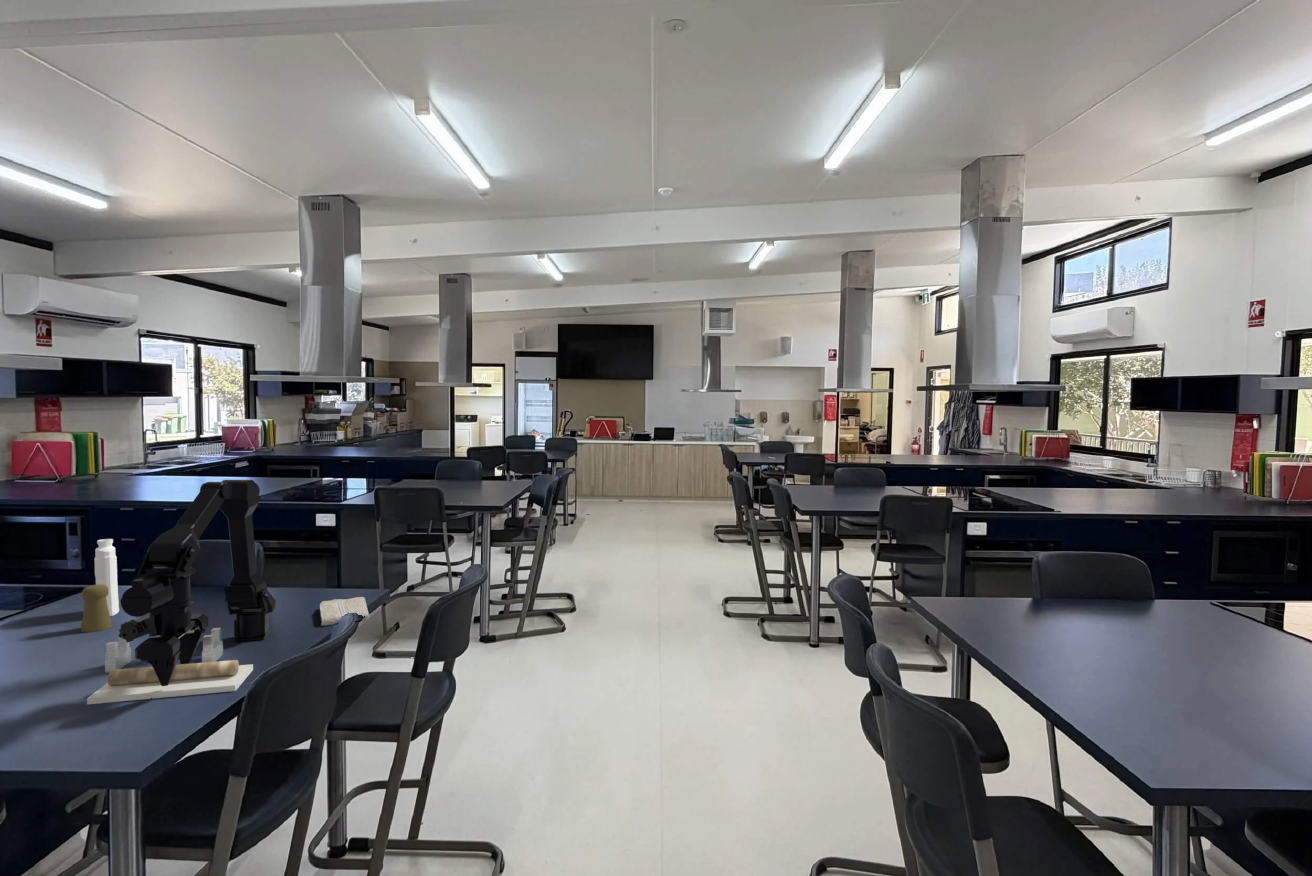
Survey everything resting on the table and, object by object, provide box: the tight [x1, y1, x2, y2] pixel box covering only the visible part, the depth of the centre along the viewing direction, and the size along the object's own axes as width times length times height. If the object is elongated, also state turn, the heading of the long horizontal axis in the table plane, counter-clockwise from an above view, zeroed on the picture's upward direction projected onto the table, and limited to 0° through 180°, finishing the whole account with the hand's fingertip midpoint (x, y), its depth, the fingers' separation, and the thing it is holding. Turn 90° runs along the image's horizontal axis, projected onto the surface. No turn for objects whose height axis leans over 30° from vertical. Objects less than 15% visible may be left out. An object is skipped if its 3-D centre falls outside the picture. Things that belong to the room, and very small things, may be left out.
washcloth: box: [319, 596, 370, 627], centre depth 182 cm, size 12×18×3 cm, turn 29°
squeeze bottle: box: [94, 538, 120, 617], centre depth 180 cm, size 10×20×5 cm
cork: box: [80, 584, 112, 633], centre depth 168 cm, size 6×6×11 cm
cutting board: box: [86, 663, 254, 705], centre depth 135 cm, size 25×11×1 cm, turn 105°
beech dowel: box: [107, 659, 240, 686], centre depth 135 cm, size 22×3×3 cm, turn 105°
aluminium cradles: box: [104, 627, 224, 674], centre depth 146 cm, size 20×6×6 cm, turn 105°
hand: (175, 676), depth 135 cm, fingers open, 9 cm apart
